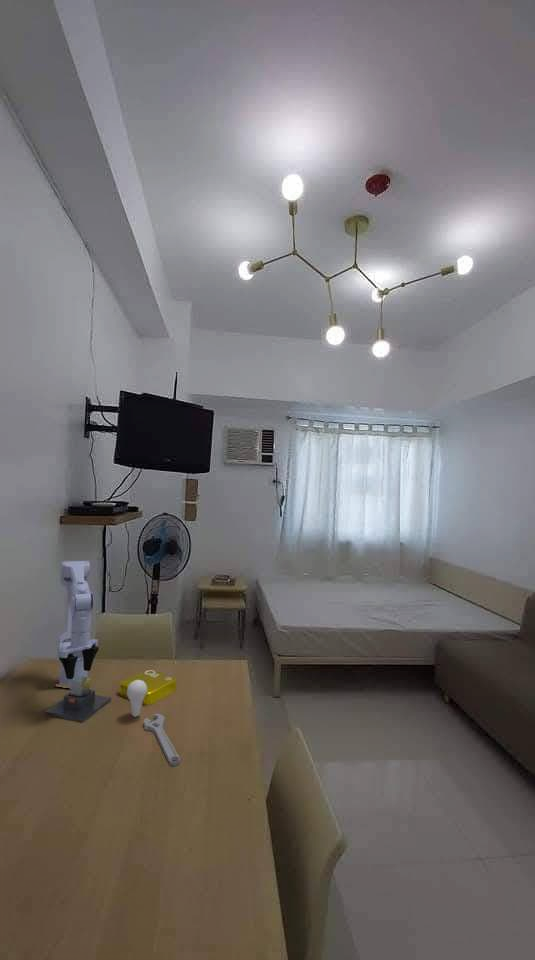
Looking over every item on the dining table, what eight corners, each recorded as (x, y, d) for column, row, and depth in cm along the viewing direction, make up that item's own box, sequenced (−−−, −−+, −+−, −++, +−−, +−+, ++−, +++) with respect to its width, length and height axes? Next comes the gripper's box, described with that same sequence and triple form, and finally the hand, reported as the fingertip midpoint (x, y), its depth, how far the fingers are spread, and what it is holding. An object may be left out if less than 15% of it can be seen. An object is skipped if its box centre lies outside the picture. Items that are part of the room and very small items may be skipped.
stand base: (75, 694, 142) (76, 679, 142) (111, 700, 139) (111, 686, 139) (44, 714, 129) (45, 698, 129) (82, 722, 125) (83, 705, 125)
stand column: (78, 700, 136) (79, 675, 137) (89, 702, 135) (91, 677, 136) (69, 706, 132) (70, 680, 133) (80, 708, 131) (82, 682, 132)
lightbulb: (148, 712, 133) (150, 677, 133) (141, 722, 126) (143, 685, 127) (130, 710, 133) (132, 675, 134) (122, 720, 127) (124, 684, 128)
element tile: (116, 695, 144) (117, 681, 144) (148, 679, 157) (149, 666, 157) (147, 707, 136) (148, 692, 136) (178, 690, 149) (179, 676, 149)
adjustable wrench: (181, 766, 107) (181, 759, 108) (155, 772, 105) (156, 765, 105) (162, 718, 130) (162, 712, 130) (141, 722, 127) (141, 716, 127)
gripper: (74, 637, 127) (71, 684, 126) (105, 626, 141) (104, 668, 139) (55, 635, 129) (53, 681, 128) (88, 625, 143) (87, 666, 141)
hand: (78, 674), depth 134 cm, fingers open, 7 cm apart
